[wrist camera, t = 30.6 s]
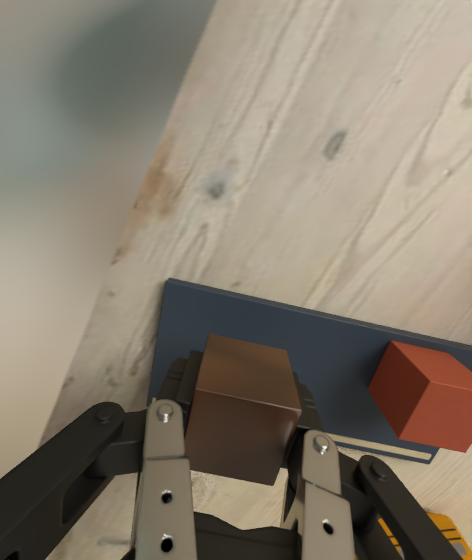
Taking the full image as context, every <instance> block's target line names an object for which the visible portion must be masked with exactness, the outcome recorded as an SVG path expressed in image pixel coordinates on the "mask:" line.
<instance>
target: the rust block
mask: <svg viewBox="0 0 472 560" xmlns="http://www.w3.org/2000/svg"><path fill="white" fill-rule="evenodd" d="M368 391H369V392H370V394H371V396H372V397H373V399H374V400H375V402H376V404H377V405H378V407H379V409H380V410H381V412H382V413H383V415H384V417H385V418H386V420H387V422H388V423H389V425H390V426H391V428H392V430H393V431H394V433H395V434H396V436H397V438H398V439H401V440H406V441H411V442H416V443H420V444H425V445H430V446H435V447H440V448H445V449H450V450H454V451H459V452H464V453H465V452H466V451H467V450H468V448H469V447H470V445H471V444H472V372H471V371H470V370H469V369H467V368H466V367H465V366H464V365H462V364H461V363H460V362H459V361H457V360H456V359H455V358H454V357H452V356H451V355H450V354H449V353H446V352H441V351H437V350H432V349H428V348H423V347H419V346H414V345H410V344H405V343H401V342H396V341H392V340H391V341H390V342H389V344H388V347H387V349H386V351H385V353H384V355H383V357H382V359H381V362H380V364H379V366H378V368H377V370H376V372H375V374H374V376H373V379H372V381H371V383H370V385H369V387H368Z"/></svg>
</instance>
